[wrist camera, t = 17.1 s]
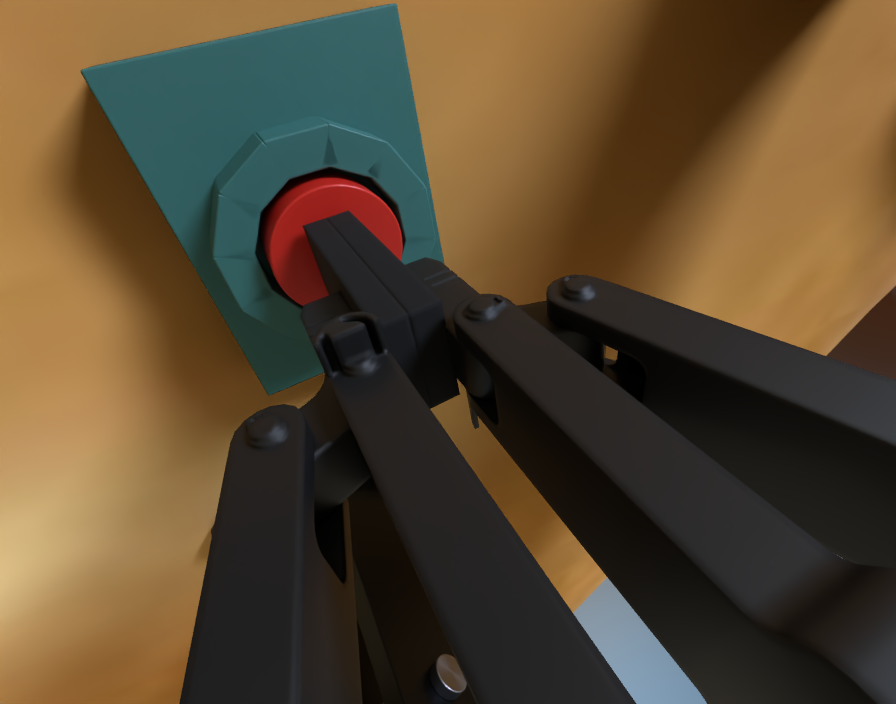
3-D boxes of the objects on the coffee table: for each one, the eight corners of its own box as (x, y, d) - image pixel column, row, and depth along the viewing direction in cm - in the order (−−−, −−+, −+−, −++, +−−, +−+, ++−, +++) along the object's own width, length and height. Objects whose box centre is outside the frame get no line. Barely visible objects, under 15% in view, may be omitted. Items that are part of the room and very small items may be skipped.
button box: (90, 66, 13) (66, 74, 10) (373, 6, 16) (420, -2, 13) (261, 368, 21) (275, 422, 18) (434, 297, 23) (472, 335, 20)
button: (236, 192, 14) (244, 210, 13) (365, 153, 15) (386, 165, 14) (289, 306, 17) (300, 332, 16) (395, 266, 18) (415, 287, 17)
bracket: (426, 450, 29) (569, 684, 19) (362, 538, 31) (459, 797, 20) (282, 416, 23) (374, 743, 12) (210, 529, 24) (238, 902, 14)
